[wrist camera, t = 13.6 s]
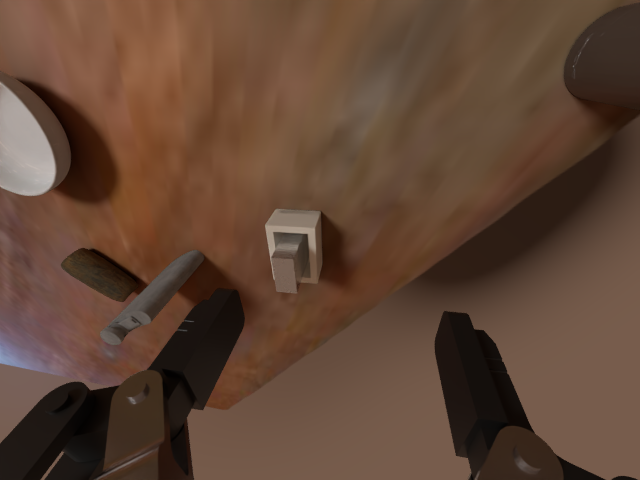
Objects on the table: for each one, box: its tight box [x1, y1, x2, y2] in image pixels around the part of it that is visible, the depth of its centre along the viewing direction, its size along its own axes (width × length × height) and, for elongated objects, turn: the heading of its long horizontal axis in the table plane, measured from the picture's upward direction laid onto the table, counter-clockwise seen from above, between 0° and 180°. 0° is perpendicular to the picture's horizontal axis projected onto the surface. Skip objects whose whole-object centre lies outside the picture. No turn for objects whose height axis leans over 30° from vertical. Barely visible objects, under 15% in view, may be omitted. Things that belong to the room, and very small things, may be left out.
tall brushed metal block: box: [271, 232, 309, 293], centre depth 48 cm, size 4×7×10 cm, turn 2°
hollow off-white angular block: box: [265, 209, 323, 284], centre depth 51 cm, size 8×12×6 cm
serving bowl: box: [0, 71, 71, 196], centre depth 47 cm, size 21×21×7 cm
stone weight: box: [61, 248, 138, 302], centre depth 65 cm, size 15×7×7 cm, turn 49°
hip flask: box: [100, 250, 204, 345], centre depth 55 cm, size 16×4×20 cm, turn 128°
